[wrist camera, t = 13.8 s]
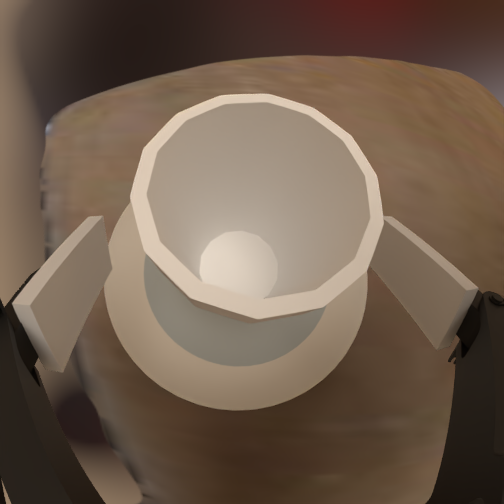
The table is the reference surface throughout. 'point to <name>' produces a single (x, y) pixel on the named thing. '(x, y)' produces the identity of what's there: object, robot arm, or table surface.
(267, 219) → the foam cup
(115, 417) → the table surface
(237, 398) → the plate
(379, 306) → the table surface
